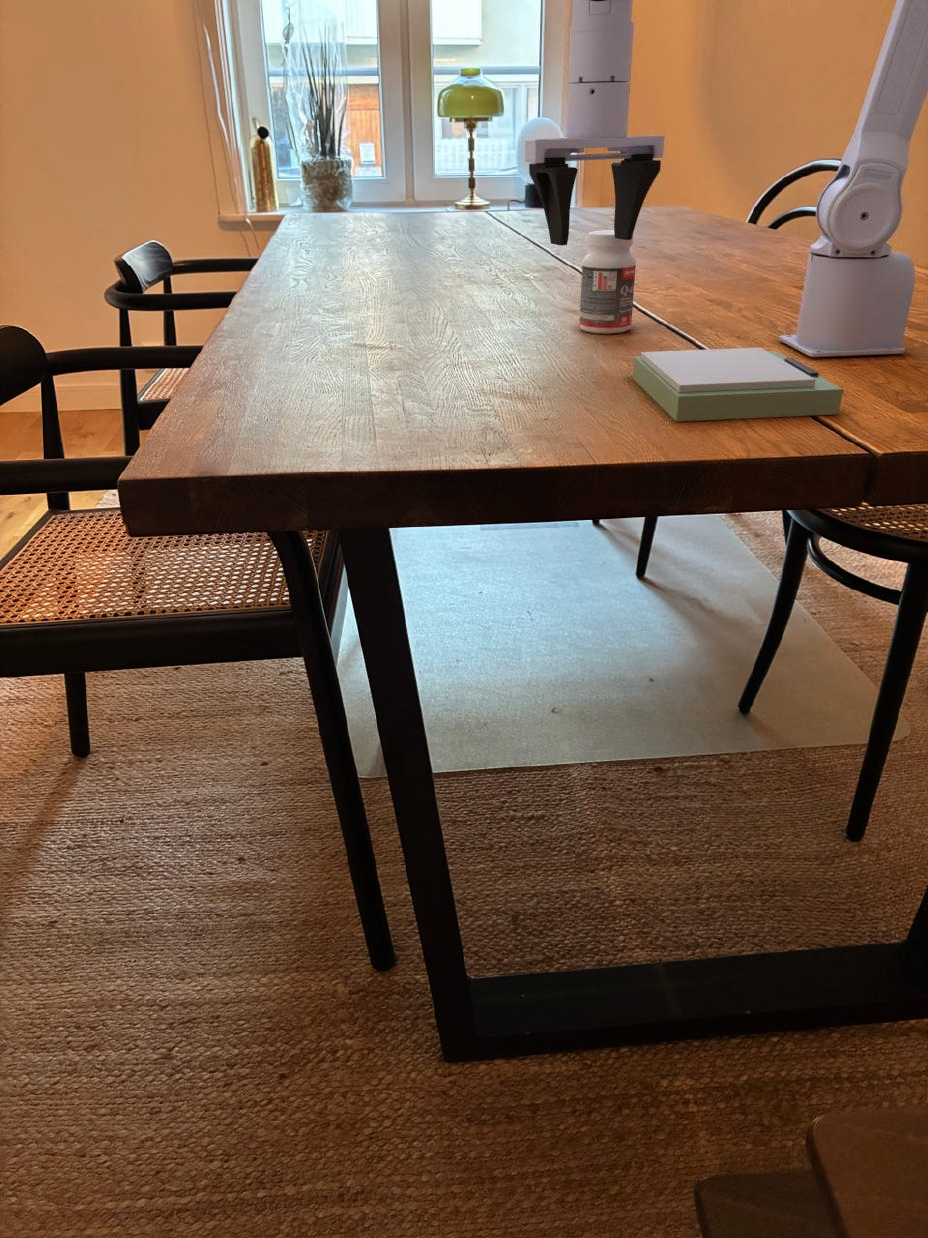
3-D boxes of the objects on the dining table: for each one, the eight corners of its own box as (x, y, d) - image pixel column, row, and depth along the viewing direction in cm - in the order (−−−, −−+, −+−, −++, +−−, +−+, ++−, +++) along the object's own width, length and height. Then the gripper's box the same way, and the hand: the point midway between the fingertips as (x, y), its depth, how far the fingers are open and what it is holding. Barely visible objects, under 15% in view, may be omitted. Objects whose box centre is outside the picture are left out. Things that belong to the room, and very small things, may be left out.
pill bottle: (629, 335, 96) (637, 235, 91) (576, 334, 97) (581, 235, 92) (632, 324, 101) (639, 229, 96) (581, 323, 102) (585, 228, 97)
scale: (773, 373, 81) (777, 344, 80) (838, 414, 69) (845, 381, 68) (632, 379, 80) (634, 349, 79) (676, 421, 69) (679, 388, 67)
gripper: (638, 84, 88) (628, 232, 95) (509, 85, 83) (508, 242, 90) (683, 81, 83) (669, 239, 90) (548, 82, 77) (544, 249, 84)
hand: (591, 241), depth 89 cm, fingers open, 7 cm apart
